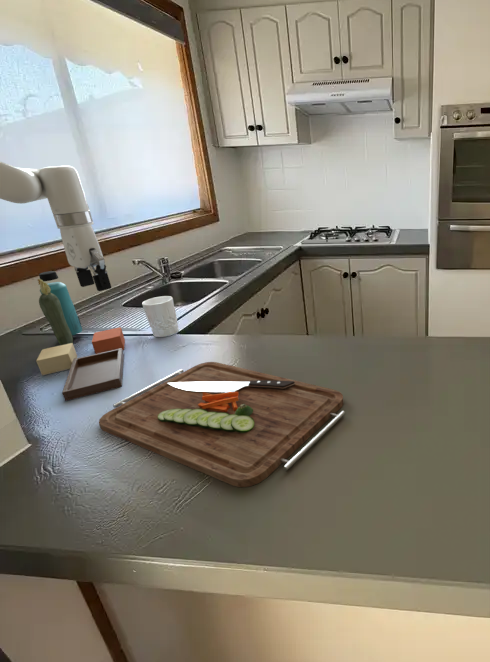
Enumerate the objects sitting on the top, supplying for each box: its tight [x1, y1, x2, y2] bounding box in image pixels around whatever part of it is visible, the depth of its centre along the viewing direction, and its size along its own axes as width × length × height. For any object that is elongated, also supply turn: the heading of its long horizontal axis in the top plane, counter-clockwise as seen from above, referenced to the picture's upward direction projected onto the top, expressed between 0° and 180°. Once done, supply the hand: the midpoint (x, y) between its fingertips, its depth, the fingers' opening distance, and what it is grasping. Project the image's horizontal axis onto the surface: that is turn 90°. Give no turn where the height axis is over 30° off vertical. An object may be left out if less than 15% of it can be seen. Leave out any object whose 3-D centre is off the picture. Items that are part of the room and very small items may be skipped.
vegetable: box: [37, 278, 74, 346], centre depth 113 cm, size 4×4×20 cm
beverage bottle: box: [38, 270, 83, 336], centre depth 121 cm, size 6×7×20 cm
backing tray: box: [61, 348, 125, 402], centre depth 99 cm, size 11×20×2 cm, turn 28°
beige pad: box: [35, 342, 78, 376], centre depth 106 cm, size 6×8×4 cm
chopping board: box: [98, 361, 346, 488], centre depth 80 cm, size 45×27×3 cm, turn 61°
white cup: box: [141, 295, 180, 338], centre depth 121 cm, size 8×8×10 cm
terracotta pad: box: [91, 326, 126, 354], centre depth 114 cm, size 6×8×4 cm
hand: (96, 287), depth 109 cm, fingers open, 9 cm apart
